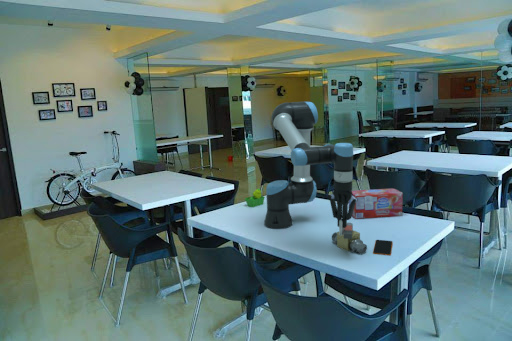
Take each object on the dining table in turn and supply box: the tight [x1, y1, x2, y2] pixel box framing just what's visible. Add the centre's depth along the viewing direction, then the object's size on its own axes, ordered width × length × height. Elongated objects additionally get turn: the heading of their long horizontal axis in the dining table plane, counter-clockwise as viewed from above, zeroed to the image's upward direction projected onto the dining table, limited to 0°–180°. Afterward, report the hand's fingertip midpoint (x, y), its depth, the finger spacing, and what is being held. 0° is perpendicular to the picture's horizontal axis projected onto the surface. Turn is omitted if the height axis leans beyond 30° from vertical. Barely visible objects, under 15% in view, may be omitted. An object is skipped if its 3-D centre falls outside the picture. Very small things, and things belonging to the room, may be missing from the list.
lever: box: [344, 222, 354, 239], centre depth 170 cm, size 4×15×4 cm, turn 166°
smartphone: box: [372, 239, 393, 257], centre depth 175 cm, size 8×17×1 cm, turn 159°
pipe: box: [331, 230, 368, 255], centre depth 177 cm, size 18×7×8 cm, turn 29°
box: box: [348, 188, 404, 220], centre depth 222 cm, size 27×13×14 cm, turn 94°
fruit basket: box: [244, 188, 266, 208], centre depth 252 cm, size 11×9×11 cm
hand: (341, 234), depth 169 cm, fingers closed
